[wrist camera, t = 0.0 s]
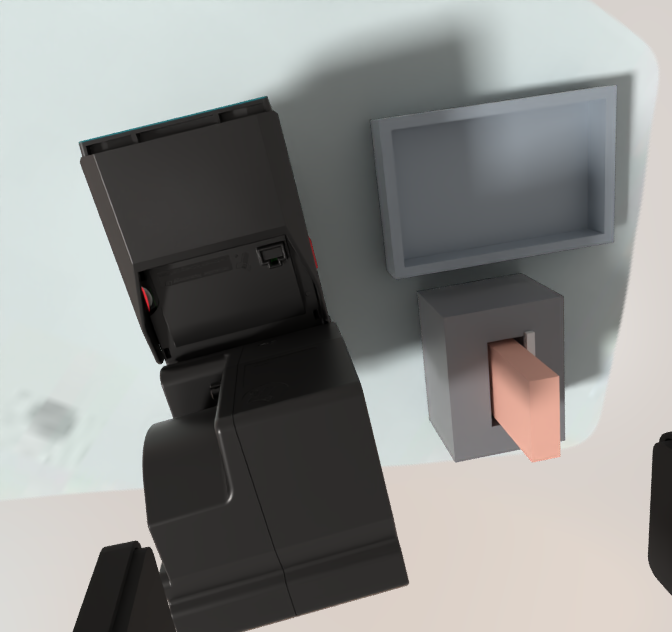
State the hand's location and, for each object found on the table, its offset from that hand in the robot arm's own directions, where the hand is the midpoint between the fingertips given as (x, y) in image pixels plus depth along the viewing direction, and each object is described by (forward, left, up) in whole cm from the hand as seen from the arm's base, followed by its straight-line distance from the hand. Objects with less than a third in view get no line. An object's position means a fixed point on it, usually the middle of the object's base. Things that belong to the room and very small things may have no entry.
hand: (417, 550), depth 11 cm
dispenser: (+13, +14, -37) cm, 41 cm away
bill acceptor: (+3, -4, -37) cm, 37 cm away
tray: (-1, +16, -37) cm, 40 cm away
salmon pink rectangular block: (+13, +14, -36) cm, 41 cm away
